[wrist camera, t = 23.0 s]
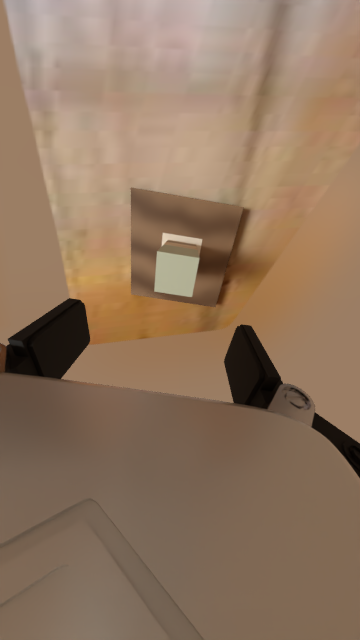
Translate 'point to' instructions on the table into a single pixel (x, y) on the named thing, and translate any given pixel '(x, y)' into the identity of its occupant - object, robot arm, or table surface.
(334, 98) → the table surface
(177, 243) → the maple block
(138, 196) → the walnut board
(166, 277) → the sage block
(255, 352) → the robot arm
